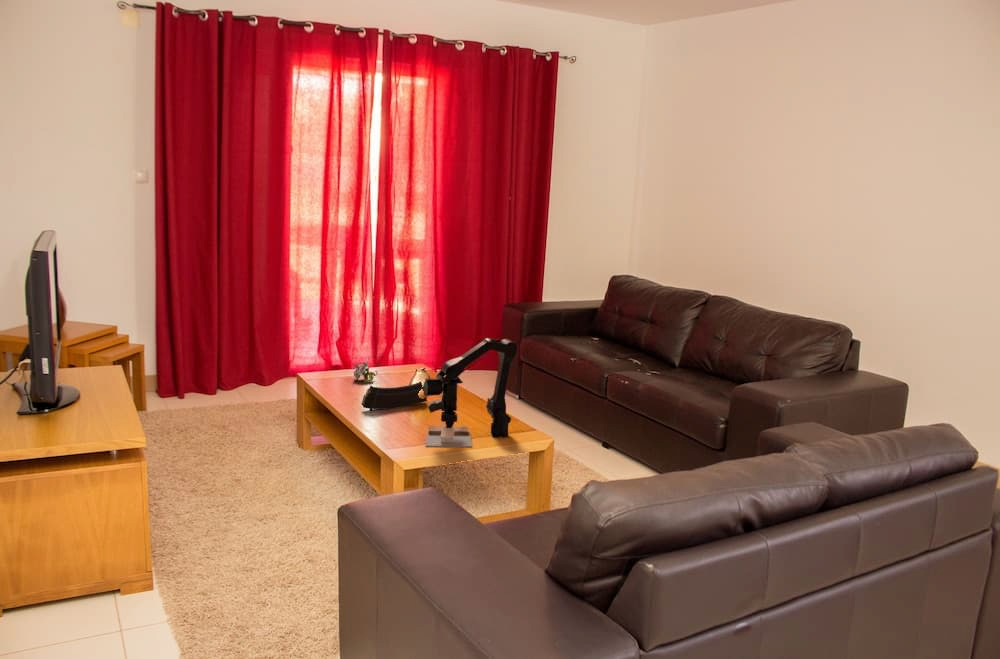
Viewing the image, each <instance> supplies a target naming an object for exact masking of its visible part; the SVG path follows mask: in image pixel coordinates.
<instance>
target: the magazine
mask: <svg viewBox="0 0 1000 659" xmlns="http://www.w3.org/2000/svg"><path fill="white" fill-rule="evenodd" d="M418 382H419V383H418ZM418 382H416V383H412V384H409V385H403V386H397V387H377V386H374V385H370V386H369V388H367V390H366V393H365V394H364V395H363V397H362V401H361V405H362V408H364V409H369V411H370V410H371V411H372V410H389V409H390V410H392V409H391V408H393V409H399V408H398V407H401V408H406V407H405V406H407V407H410V406H415V405H418V404H422V403H425V402H428V398H427V396H426V397H425V398H424V399H421V398H419V396H418V393H419V391H420V390H421V389H423V387H422V386H423V385H424V384H423V383H422V381H418Z"/></svg>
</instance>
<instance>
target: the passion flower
mask: <svg viewBox="0 0 1000 659" xmlns="http://www.w3.org/2000/svg"><path fill="white" fill-rule="evenodd" d="M368 364H369V360H366V362H365V361H364V362H362V363H360V364H359V362H356V363H355V365H354V366H353V367H352V370H354V371H353V377H354V378H355V379H354V381H355V380H357V381H358V380H359V378H360V377H361V376H362V377H363V380H364V383H365V384H366V383H367V384H368V381H369V382H370V383H371V382H372V381H373V380H374V377H377V376H378V370H375V371H369V370H370V367H369V365H368Z"/></svg>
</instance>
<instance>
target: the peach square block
mask: <svg viewBox="0 0 1000 659" xmlns="http://www.w3.org/2000/svg"><path fill="white" fill-rule="evenodd" d="M454 434H455V430H454V428H442V430H441V442H449V443H453V442H454Z"/></svg>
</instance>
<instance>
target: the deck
mask: <svg viewBox="0 0 1000 659" xmlns="http://www.w3.org/2000/svg"><path fill="white" fill-rule="evenodd" d="M442 428H446V425H444V426H443V425H440V426H439V425H434V426H433V425H429V426H428V435H441V430H442ZM452 428H454V430H455V434H454V435H469V426H459V425H458V426H454V425H453V426H452Z"/></svg>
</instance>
